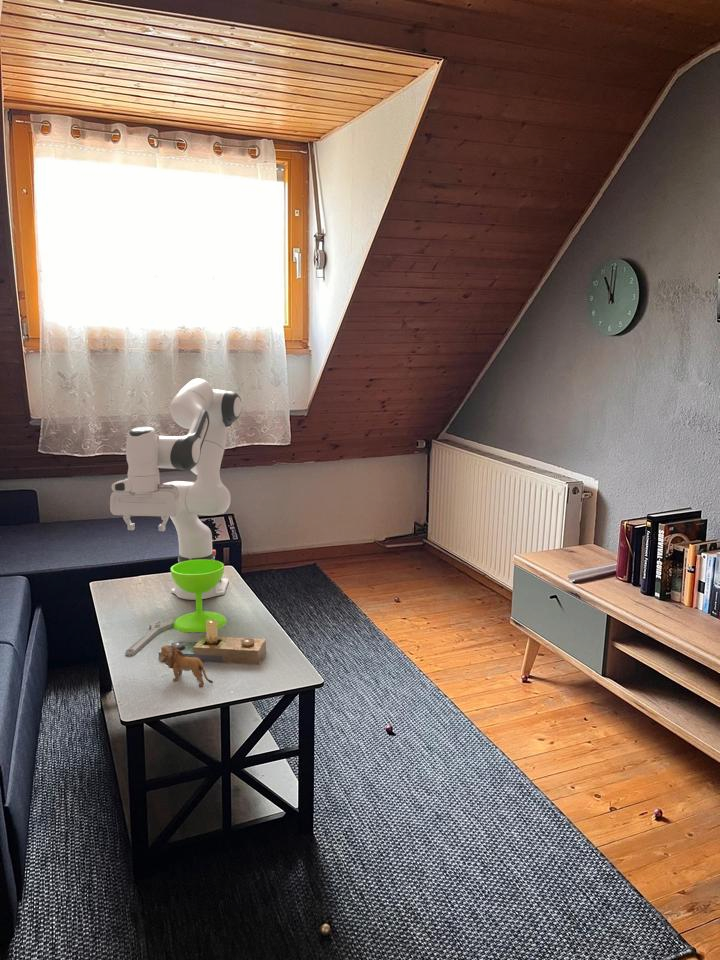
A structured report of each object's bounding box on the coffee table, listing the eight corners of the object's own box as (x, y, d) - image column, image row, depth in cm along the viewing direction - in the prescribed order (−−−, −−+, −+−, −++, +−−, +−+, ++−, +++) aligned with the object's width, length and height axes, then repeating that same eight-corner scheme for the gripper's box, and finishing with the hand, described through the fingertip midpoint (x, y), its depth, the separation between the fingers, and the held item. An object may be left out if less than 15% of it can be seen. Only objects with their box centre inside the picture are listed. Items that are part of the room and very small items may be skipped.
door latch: (170, 647, 213) (169, 630, 212) (266, 652, 209) (265, 635, 208) (159, 658, 205) (158, 641, 204) (258, 664, 201) (258, 647, 200)
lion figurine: (156, 681, 192) (154, 648, 190) (167, 673, 197) (165, 640, 195) (208, 689, 188) (207, 655, 186) (218, 679, 193) (217, 646, 191)
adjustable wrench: (132, 658, 207) (132, 652, 207) (112, 655, 209) (111, 649, 208) (176, 624, 231) (176, 619, 230) (157, 622, 232) (157, 617, 232)
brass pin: (209, 653, 209) (208, 619, 207) (219, 653, 208) (218, 619, 207) (205, 657, 206) (204, 623, 204) (216, 658, 205) (215, 623, 204)
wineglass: (177, 636, 221) (174, 577, 217) (169, 617, 235) (166, 562, 232) (231, 628, 227) (229, 571, 223) (220, 610, 241) (218, 557, 238)
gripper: (182, 482, 218) (184, 528, 221) (116, 480, 221) (118, 526, 223) (174, 486, 212) (176, 534, 215) (106, 485, 215) (109, 531, 217)
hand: (146, 530), depth 219 cm, fingers open, 8 cm apart
